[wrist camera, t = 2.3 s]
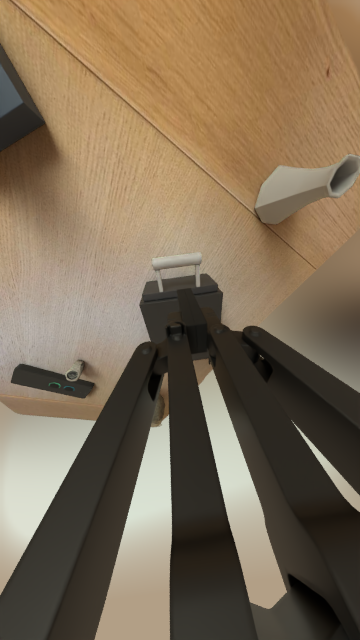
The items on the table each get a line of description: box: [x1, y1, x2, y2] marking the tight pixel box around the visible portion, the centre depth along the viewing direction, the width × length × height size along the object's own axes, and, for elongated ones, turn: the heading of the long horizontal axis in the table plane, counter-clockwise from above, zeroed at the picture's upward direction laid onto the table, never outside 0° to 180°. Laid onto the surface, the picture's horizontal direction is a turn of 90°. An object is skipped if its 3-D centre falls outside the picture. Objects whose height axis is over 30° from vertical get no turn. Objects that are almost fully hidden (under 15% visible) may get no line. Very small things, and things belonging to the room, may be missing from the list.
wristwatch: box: [65, 360, 84, 381], centre depth 37 cm, size 4×6×5 cm, turn 157°
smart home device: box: [11, 364, 94, 398], centre depth 41 cm, size 8×2×20 cm
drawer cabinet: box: [140, 288, 223, 361], centre depth 29 cm, size 16×14×9 cm
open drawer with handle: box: [142, 252, 218, 302], centre depth 26 cm, size 20×12×7 cm, turn 6°
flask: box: [255, 154, 360, 224], centre depth 18 cm, size 7×7×10 cm
